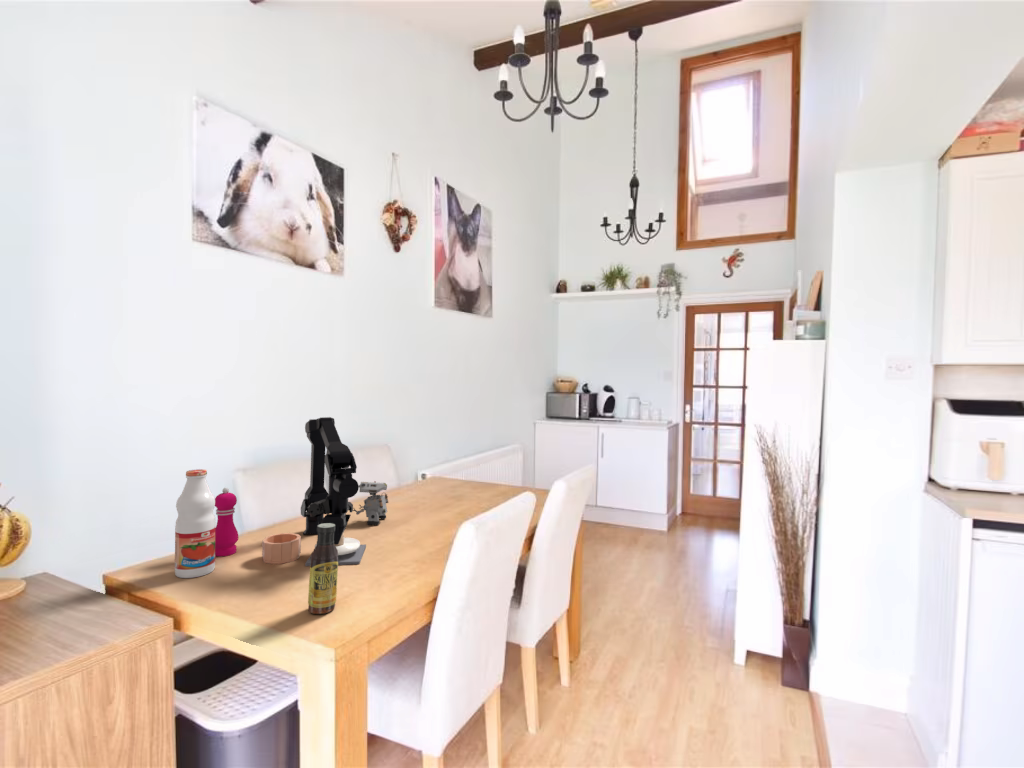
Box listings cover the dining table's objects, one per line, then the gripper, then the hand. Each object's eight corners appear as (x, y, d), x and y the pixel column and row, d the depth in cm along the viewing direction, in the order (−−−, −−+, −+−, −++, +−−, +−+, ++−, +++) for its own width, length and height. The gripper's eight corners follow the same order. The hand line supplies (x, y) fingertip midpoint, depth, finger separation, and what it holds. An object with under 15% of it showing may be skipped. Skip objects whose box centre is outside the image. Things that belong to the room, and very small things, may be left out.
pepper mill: (226, 558, 150) (227, 491, 150) (205, 556, 151) (206, 489, 151) (243, 550, 157) (244, 486, 157) (223, 548, 159) (224, 484, 158)
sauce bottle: (311, 618, 114) (313, 531, 114) (304, 608, 119) (306, 524, 119) (341, 611, 118) (342, 526, 118) (333, 601, 123) (334, 520, 123)
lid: (319, 541, 159) (320, 527, 159) (362, 540, 161) (362, 525, 161) (310, 556, 146) (310, 540, 146) (356, 554, 148) (356, 539, 148)
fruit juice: (204, 563, 146) (206, 466, 145) (221, 570, 140) (222, 470, 140) (168, 573, 138) (169, 471, 137) (184, 581, 133) (185, 475, 132)
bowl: (268, 553, 155) (269, 533, 155) (303, 551, 157) (303, 532, 157) (257, 565, 145) (258, 544, 145) (295, 563, 147) (295, 543, 147)
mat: (316, 548, 160) (317, 545, 160) (365, 546, 162) (366, 544, 162) (305, 566, 145) (305, 563, 145) (359, 564, 148) (359, 561, 148)
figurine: (361, 517, 195) (361, 479, 195) (390, 519, 194) (390, 480, 194) (351, 524, 186) (352, 484, 186) (382, 526, 185) (383, 485, 185)
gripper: (317, 484, 161) (316, 533, 162) (302, 498, 143) (302, 553, 143) (353, 484, 163) (352, 532, 163) (343, 498, 145) (342, 552, 145)
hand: (337, 542), depth 154 cm, fingers closed on lid, 4 cm apart
